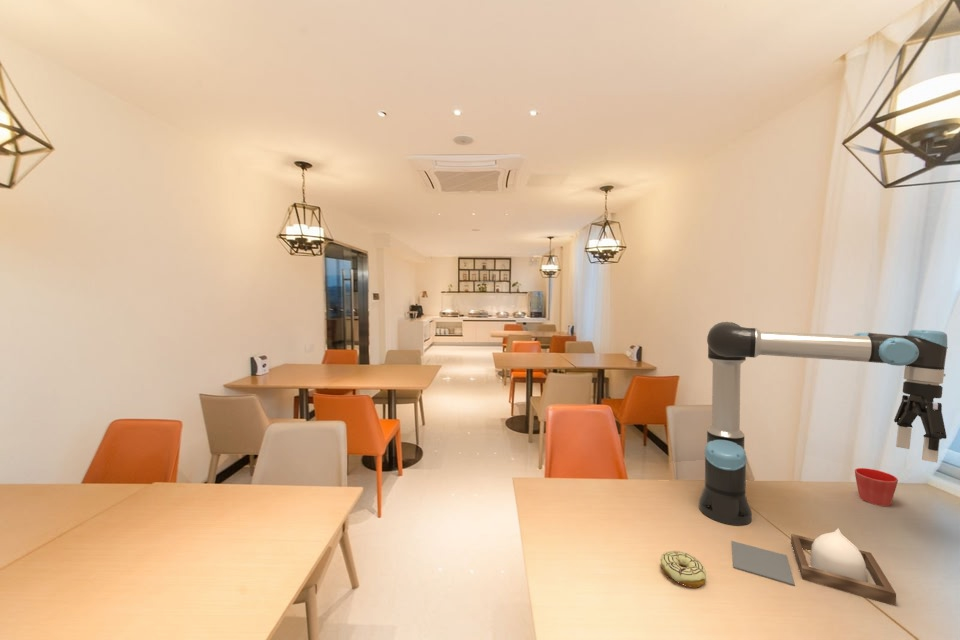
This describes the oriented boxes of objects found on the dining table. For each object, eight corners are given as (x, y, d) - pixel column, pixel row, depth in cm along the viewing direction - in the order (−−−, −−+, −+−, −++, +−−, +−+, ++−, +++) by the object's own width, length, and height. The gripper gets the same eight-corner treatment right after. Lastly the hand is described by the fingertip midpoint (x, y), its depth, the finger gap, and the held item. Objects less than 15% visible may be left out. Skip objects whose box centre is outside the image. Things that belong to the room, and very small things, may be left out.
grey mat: (733, 567, 103) (733, 566, 103) (731, 542, 114) (731, 540, 114) (795, 586, 96) (795, 584, 96) (786, 556, 107) (786, 555, 107)
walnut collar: (802, 579, 98) (802, 568, 98) (791, 543, 112) (791, 533, 112) (895, 605, 89) (896, 593, 89) (870, 563, 103) (870, 552, 103)
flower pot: (907, 508, 130) (907, 481, 130) (874, 509, 130) (875, 481, 130) (875, 493, 141) (875, 467, 140) (845, 493, 141) (846, 468, 140)
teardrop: (854, 563, 103) (855, 521, 103) (876, 592, 93) (877, 545, 93) (803, 553, 108) (804, 512, 107) (819, 579, 98) (820, 534, 97)
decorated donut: (675, 591, 95) (675, 577, 95) (653, 562, 106) (653, 549, 105) (715, 588, 96) (715, 574, 95) (689, 560, 106) (689, 546, 106)
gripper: (971, 390, 98) (963, 471, 98) (916, 380, 120) (909, 445, 121) (930, 385, 102) (922, 463, 102) (883, 376, 124) (877, 440, 124)
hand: (915, 454), depth 111 cm, fingers open, 13 cm apart
